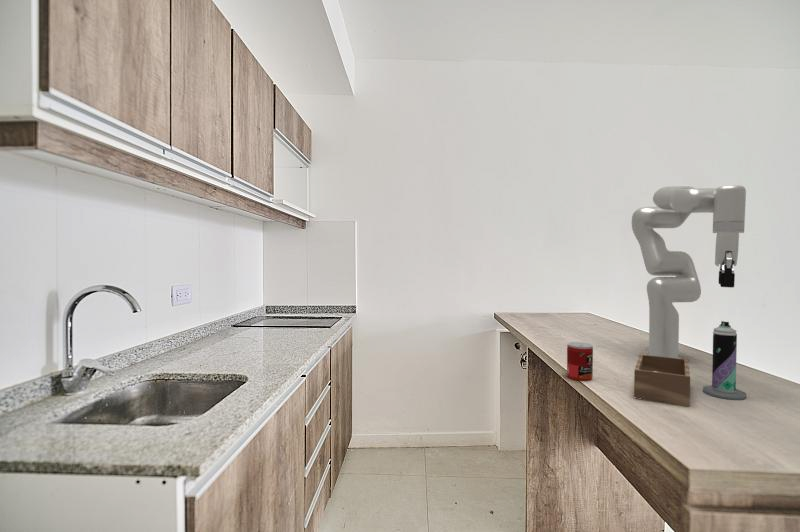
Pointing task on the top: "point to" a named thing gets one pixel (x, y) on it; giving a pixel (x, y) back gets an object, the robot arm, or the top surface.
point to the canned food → (580, 361)
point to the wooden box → (662, 380)
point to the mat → (724, 394)
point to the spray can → (724, 358)
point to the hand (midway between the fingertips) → (726, 285)
